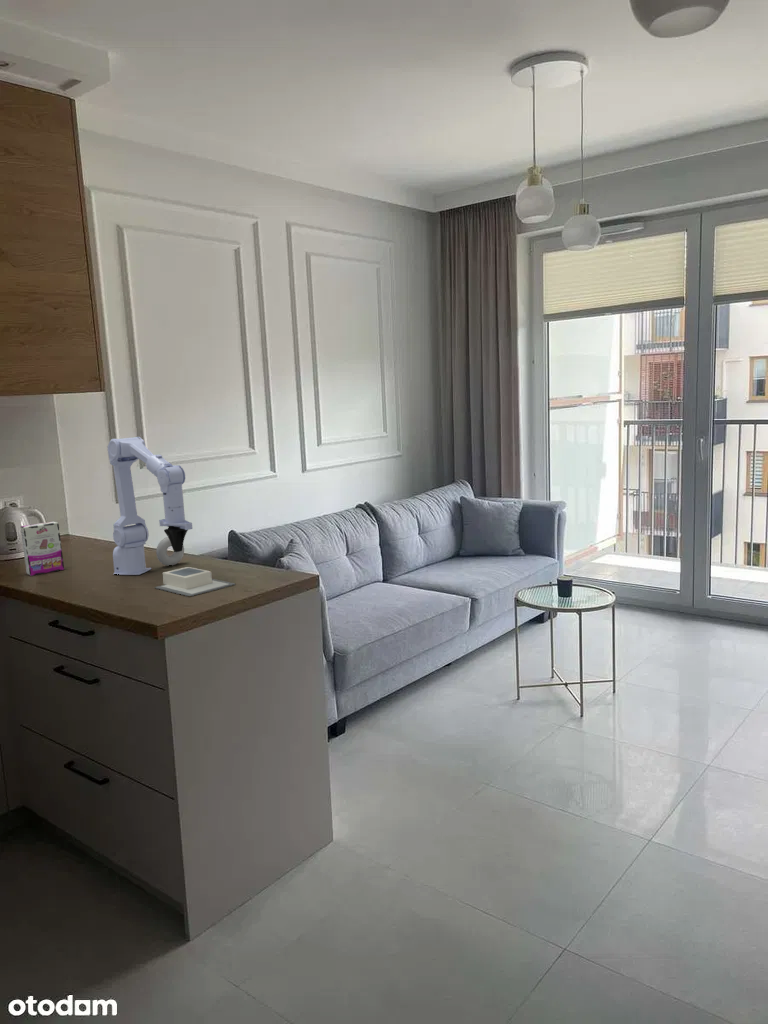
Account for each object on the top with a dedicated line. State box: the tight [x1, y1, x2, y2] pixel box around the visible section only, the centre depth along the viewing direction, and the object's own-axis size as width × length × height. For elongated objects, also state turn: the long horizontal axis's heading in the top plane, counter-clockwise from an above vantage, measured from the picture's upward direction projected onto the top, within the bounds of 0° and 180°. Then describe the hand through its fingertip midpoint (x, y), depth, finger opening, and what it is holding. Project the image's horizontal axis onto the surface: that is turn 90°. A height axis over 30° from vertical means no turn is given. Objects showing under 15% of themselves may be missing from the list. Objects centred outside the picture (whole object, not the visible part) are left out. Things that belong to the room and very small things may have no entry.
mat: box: [154, 578, 236, 597], centre depth 226 cm, size 18×16×1 cm
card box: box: [162, 566, 213, 590], centre depth 228 cm, size 4×9×12 cm
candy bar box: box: [20, 521, 65, 577], centre depth 254 cm, size 11×5×16 cm, turn 130°
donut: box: [155, 536, 185, 567], centre depth 256 cm, size 10×4×10 cm, turn 136°
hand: (177, 551), depth 229 cm, fingers closed
